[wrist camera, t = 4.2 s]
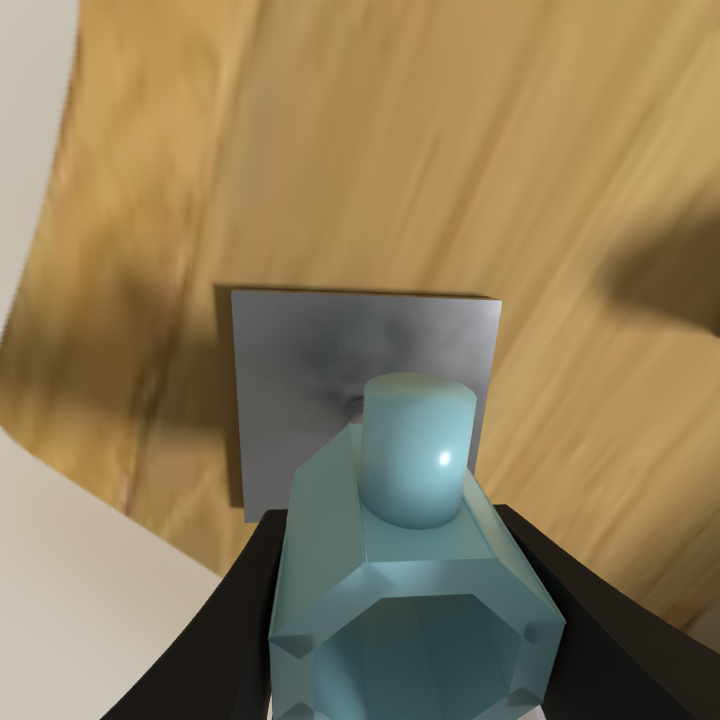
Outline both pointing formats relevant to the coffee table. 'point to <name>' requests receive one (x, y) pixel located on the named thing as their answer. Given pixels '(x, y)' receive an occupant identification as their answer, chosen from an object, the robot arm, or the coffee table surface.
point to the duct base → (340, 369)
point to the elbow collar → (405, 575)
